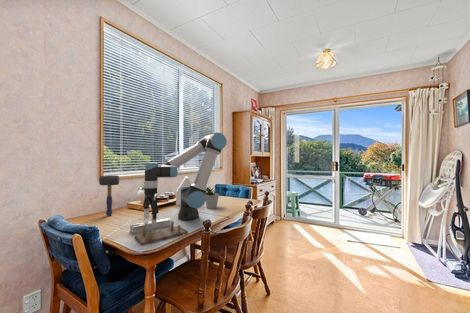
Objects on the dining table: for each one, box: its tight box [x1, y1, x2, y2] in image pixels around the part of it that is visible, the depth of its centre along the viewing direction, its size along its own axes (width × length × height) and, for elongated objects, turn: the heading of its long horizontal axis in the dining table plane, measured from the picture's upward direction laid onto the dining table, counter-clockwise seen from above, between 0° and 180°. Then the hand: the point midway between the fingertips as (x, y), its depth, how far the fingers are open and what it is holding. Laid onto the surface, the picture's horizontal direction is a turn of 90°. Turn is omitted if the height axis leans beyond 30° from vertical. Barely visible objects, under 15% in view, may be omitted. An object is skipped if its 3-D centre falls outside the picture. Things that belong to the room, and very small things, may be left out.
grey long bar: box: [129, 217, 171, 235], centre depth 134 cm, size 23×6×4 cm, turn 130°
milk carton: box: [175, 175, 193, 207], centre depth 205 cm, size 19×15×25 cm
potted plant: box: [205, 185, 220, 210], centre depth 190 cm, size 13×14×20 cm
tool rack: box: [134, 220, 189, 246], centre depth 122 cm, size 26×12×6 cm, turn 130°
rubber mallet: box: [98, 175, 120, 217], centre depth 161 cm, size 12×8×30 cm, turn 109°
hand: (149, 221), depth 133 cm, fingers open, 13 cm apart
